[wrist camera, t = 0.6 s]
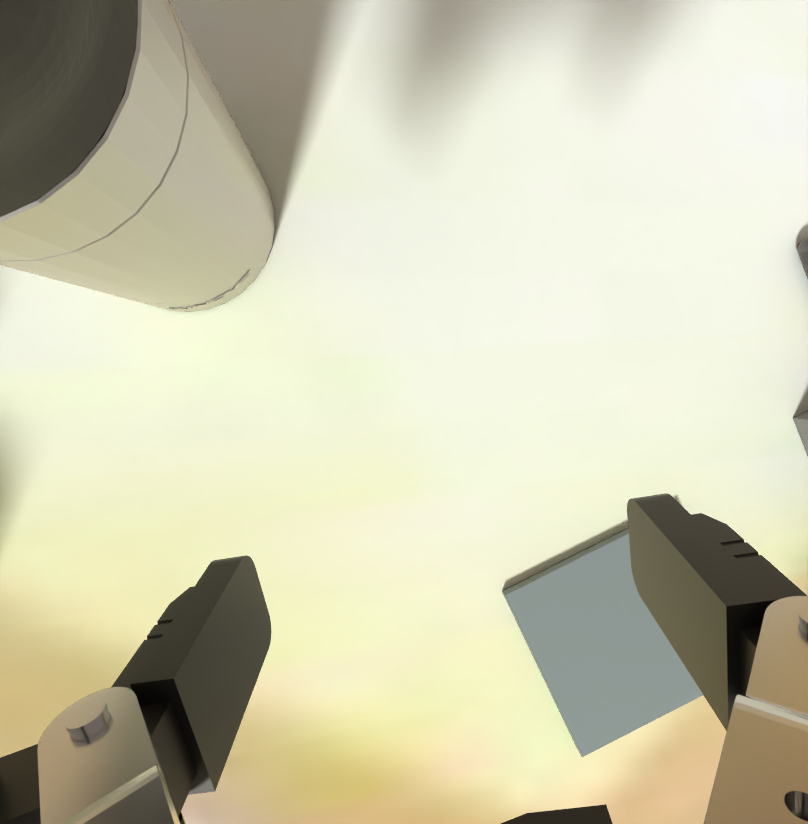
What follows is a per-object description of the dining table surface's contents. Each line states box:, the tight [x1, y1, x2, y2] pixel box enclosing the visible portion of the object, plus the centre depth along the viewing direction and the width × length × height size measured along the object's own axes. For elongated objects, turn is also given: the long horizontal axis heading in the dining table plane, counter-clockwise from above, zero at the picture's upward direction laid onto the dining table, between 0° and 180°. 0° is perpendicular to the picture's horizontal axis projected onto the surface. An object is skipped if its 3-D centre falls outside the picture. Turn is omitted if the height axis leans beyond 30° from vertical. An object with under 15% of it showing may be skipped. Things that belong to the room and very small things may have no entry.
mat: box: [502, 528, 703, 757], centre depth 31 cm, size 11×11×1 cm
